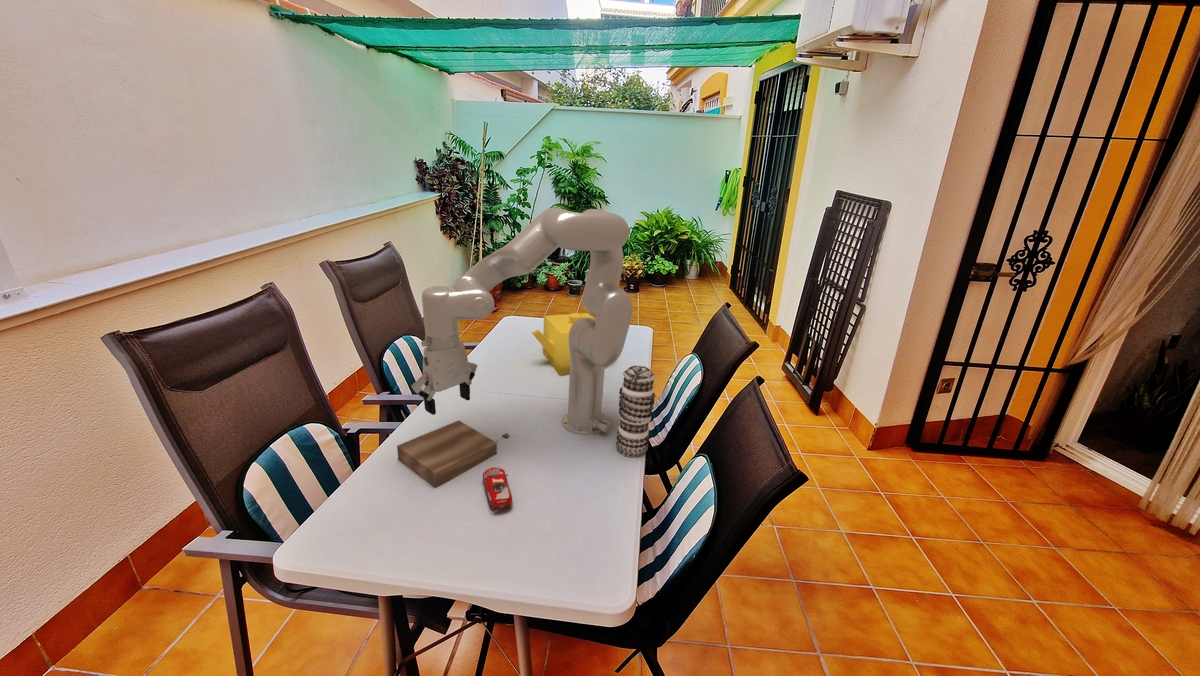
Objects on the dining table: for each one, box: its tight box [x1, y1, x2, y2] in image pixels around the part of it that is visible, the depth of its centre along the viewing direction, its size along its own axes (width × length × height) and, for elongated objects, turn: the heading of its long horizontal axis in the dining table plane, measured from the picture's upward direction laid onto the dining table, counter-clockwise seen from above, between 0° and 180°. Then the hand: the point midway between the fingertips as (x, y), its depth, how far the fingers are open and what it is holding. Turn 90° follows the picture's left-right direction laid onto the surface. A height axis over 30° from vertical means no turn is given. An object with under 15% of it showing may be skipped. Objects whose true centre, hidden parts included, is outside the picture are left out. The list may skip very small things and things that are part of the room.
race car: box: [482, 467, 513, 511], centre depth 112 cm, size 13×5×4 cm, turn 20°
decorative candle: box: [615, 365, 656, 459], centre depth 126 cm, size 9×9×25 cm
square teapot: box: [531, 312, 607, 377], centre depth 176 cm, size 35×30×21 cm
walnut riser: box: [396, 419, 498, 489], centre depth 124 cm, size 16×18×4 cm
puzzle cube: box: [495, 432, 510, 443], centre depth 132 cm, size 4×3×2 cm
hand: (448, 405), depth 120 cm, fingers open, 9 cm apart
